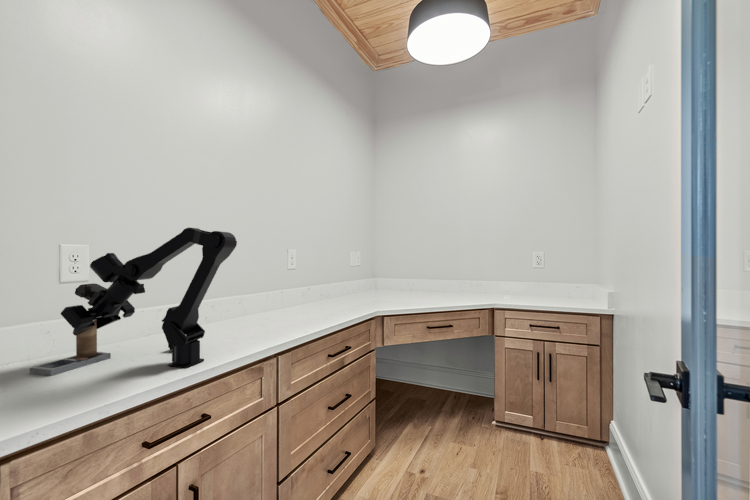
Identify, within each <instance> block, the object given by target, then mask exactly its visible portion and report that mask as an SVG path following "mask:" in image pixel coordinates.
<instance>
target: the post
mask: <svg viewBox="0 0 750 500" xmlns="http://www.w3.org/2000/svg"><path fill="white" fill-rule="evenodd" d="M93 323H94V324H95V326H93V327H91V328H89V329H88V330H86V331H84V332H82V333H80V334H78V335H76V337H75V338H76V339H75V344H76V345H75V346H76V350H75V353H76V355H75V356H76V357H77V358H85V357H91V356H94V355H96V354H97V352H98V337H97V335H98V334H97V333H98V331H97V330H98V329H97V319H96V320H94V321H93Z"/></svg>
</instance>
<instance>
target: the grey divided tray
mask: <svg viewBox="0 0 750 500" xmlns="http://www.w3.org/2000/svg"><path fill="white" fill-rule="evenodd" d="M111 357H112V355H111V352H103V351H97V354H96V355H94V356H91V357H85V358H77V357H76V355H73V356H68V357H65V358H61V359H57V360H54V361H50V362H46V363H43V364H39V365H35V366H31V367H29V374H31V375H41V376H46V377H47V376H48V377H52V376H55V375H58V374H62V373H65V372H69V371H72V370H75V369H79V368H81V367H86V366H88V365H89V366H90V365H93V364H95V363H96V364H97V363H99V362H101V361H103V362H104V361H105V360H106V361H107V360H108V359H111Z"/></svg>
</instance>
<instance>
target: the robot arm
mask: <svg viewBox="0 0 750 500" xmlns="http://www.w3.org/2000/svg"><path fill="white" fill-rule="evenodd" d="M195 244H196V245H199V246H202V248H201V250H202V251H201V253H202V255H201V256H202V259H201V261H200V263H199V265H198V268H197V269H196V271H195V273H194V275H193V277H192V279H191V282H190V283H189V285H188V287H187V289H186V291H185V294H184V295H183V298H182V300H181V301H180V303H179V305H177V306H172V307H169V308H168V309H167V310H166V314H165V317H163V319H161V322H162V326H161V329H162V331H163V334H164V336H165V338H166V342H167V344H168V345H173V347H172V350H171V361H172V362H169V363H168V364H167V365H168V367H175V368H185V369H186V368H189V367H192V366H194V365H197V364H199V363H202V362H204V361H205V358H201V341H200V339H203V338H204V335H205V333H206V330H205V329H204V328H203V327H202V326H201V325H200V324H199V323H198V321H199V317H200V316H199V308H200V306H201V304H202V302H203V300H204V298H205V296H206V294H207V292H208V290H209V288H210V286H211V284H212V281H213V279H214V278H215V276H216V274H217V272H218V269H219V268H220V266H221V264H222V263H224V261H225V260H226V259H228V257H230V256H231V254H232V253H233V252H234V250H235V249H236V247H237V244H238V241H237V238H236V237H235V235H234V234H233V233H231V232H227V231H219V230H212V231H207V230H203V229H200V228H198V227H186V228H184V229H183V230H182V231H181V232H179V233H178V234H177V235H175V236H174V237H172V238H171V239H169V240H168V241H166V242H165V243H163V244H162V245H160V246H159V247H157V248H156V249H154V250H153V251H151V252H148V253H146V254H143V255H139V256H137V257H134V258H132V259H129V260H128V261H125V263H123V262H122V261H121V260H120V259H119V258H118V256H117V255H116V254H115V252H107V253H106V254H105V255H102V256H100V257H98V258H96V259H94V260H93V261H92V262H90V264H89V267H90V269H91V270H92V271H93V273H95V274H96V276H98V277H99V279H100V280H101V281H102V282H103V283H111V285H109V287H107V288H106V287H104V286H102V285H100V284H98V283H85V284H80V285H79V286H78V287H76V288H75V291H74V295H75V296H78V297H80V298H82V299H83V298H84V299H85V300H87V304H88V306H91V307H88V308H87V309H86V307H85V306H84V305H82V304H80V305H79V304H78V305H77V304H76V305H71V306H65V307H64V308H63V309H62V311H60V315H61V316H62V317H63V318H64V320H65V321H66V322H67V323H68V324H69V325H70V326H71V327H72V328H73V331H72V334H73V335H74V336H76V335H78V334H80V333H82V332H84V331H86V330H88V329H89V328H91V327H93V326H95V324H94V323H93V321H94V320H96V319H97V330H98V329H101V328H103V327H106V326H108V325H110V324H112V323H114V322H117V321H120V320H121V319H122V318H121V316H120V313H121V311H122V312H123V313H122V317H123V318H125V319H126V318H130V317H132V316H133V315H134V313H135V312H136V311H135V310H136V308H135V307H134V306H133V305H132V303H131V302H130V301H129V299H130V298H131V296H132V295H139V294H145V293H146V289H145V286H144V285H145V284H144V283H140V282H139V281H142V280H143V281H144V280H151V279H153V278H155V276H156V275H157V274H158V273H160V272H161V270H162V268H163V267H164V266H165V264H167V263H168V262H169V261H171V260H172V259H174V258H176V257H177V256H179V255H180V254H182V253H183V252H185V251H187V249H189V248H191V247H193V246H194V245H195ZM168 345H167V346H168Z"/></svg>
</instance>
